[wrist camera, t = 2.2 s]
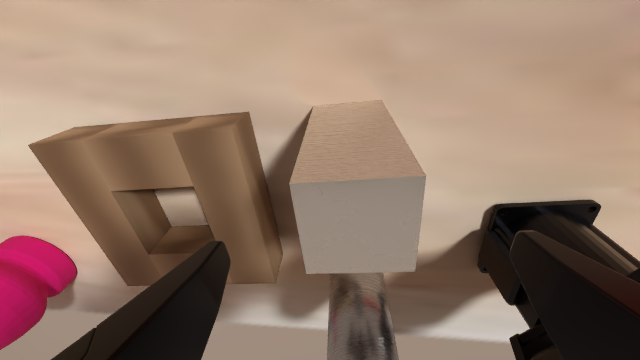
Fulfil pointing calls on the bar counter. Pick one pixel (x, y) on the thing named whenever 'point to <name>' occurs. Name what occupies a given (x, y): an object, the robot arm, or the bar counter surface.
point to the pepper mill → (29, 283)
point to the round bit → (359, 318)
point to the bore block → (167, 172)
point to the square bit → (357, 192)
